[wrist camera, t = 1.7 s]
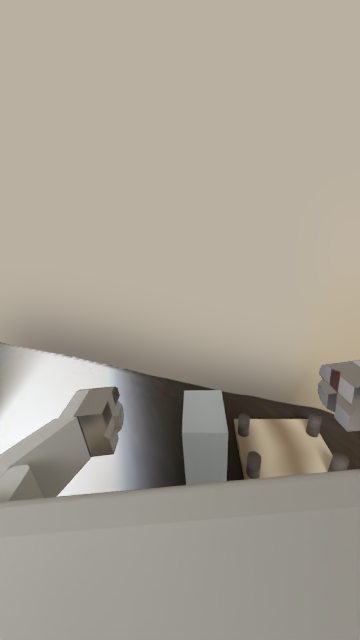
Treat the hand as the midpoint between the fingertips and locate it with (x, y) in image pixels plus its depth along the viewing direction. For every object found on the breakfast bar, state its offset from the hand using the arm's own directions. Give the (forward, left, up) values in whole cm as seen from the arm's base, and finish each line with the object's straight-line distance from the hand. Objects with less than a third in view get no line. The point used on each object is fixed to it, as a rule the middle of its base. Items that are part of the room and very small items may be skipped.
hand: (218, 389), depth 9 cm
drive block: (0, +11, -25) cm, 27 cm away
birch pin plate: (+11, +12, -25) cm, 30 cm away
